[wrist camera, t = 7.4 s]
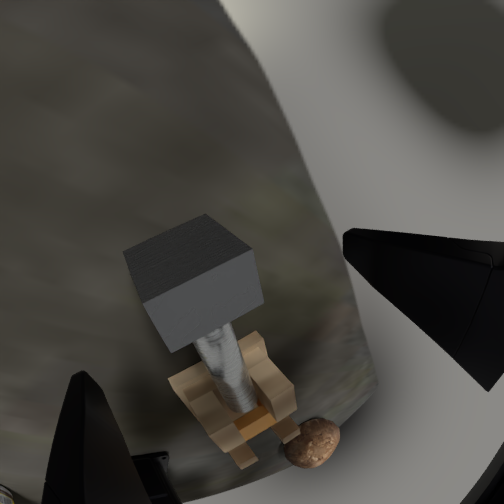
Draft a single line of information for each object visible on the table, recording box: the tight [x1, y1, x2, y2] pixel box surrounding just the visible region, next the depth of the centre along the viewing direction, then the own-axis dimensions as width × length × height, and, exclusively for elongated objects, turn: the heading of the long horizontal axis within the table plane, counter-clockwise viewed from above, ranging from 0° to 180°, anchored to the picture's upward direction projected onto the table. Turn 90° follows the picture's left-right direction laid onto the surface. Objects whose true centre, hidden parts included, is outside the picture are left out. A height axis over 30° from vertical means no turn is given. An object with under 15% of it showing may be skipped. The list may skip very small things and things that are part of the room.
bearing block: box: [168, 331, 300, 469], centre depth 20 cm, size 10×7×5 cm
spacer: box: [233, 399, 277, 441], centre depth 20 cm, size 2×4×3 cm, turn 103°
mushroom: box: [284, 418, 340, 468], centre depth 33 cm, size 8×8×6 cm
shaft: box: [123, 214, 264, 413], centre depth 14 cm, size 12×4×4 cm, turn 13°
